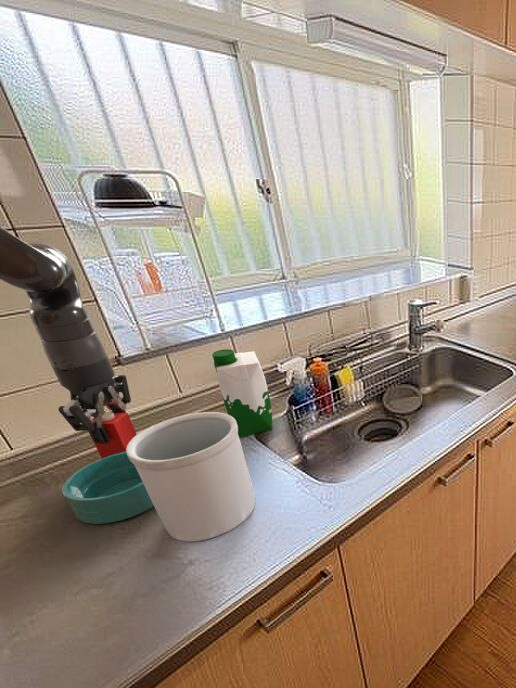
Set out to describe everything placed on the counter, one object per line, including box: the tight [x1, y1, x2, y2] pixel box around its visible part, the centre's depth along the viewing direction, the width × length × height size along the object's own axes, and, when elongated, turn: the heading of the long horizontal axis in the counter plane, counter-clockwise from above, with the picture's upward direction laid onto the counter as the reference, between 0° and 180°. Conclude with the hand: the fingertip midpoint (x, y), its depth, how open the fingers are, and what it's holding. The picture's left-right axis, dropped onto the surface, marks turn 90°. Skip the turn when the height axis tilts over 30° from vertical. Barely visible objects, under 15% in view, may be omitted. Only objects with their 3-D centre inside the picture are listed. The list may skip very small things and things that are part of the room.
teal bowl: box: [61, 452, 154, 525], centre depth 78 cm, size 14×14×6 cm
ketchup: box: [87, 411, 138, 459], centre depth 85 cm, size 5×4×12 cm
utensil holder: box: [126, 411, 256, 542], centre depth 73 cm, size 15×15×18 cm
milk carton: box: [212, 348, 273, 438], centre depth 98 cm, size 9×9×20 cm
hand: (113, 434), depth 85 cm, fingers open, 5 cm apart
